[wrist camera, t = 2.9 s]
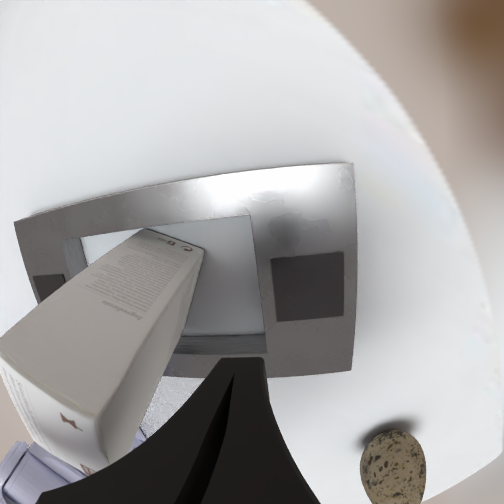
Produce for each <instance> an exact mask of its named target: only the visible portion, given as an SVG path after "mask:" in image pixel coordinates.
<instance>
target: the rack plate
mask: <svg viewBox="0 0 504 504" xmlns="http://www.w3.org/2000/svg"><path fill="white" fill-rule="evenodd" d="M241 215H250V217H251V225H252V232H253V240H254V248H255V256H256V264H257V272H258V280H259V288H260V296H261V304H262V312H263V320H264V328H265V334H259V335H236V336H180V339H179V341H178V343H177V345H176V347H175V349H174V351H173V353H172V356H171V358H170V360H169V362H168V364H167V366H166V368H165V371H164V373H163V375H162V376H171V377H189V378H206V377H207V376H208V374H209V373H210V372H211V370H212V369H213V368H214V366H215V365H216V364H217V362H218V361H219V360H220V359H221V358H235V357H261V358H263V359H264V361H265V369H266V377H267V378H273V377H291V376H304V375H316V374H326V373H335V372H343V371H350V370H351V367H352V357H353V346H354V334H355V319H356V298H357V216H356V195H355V180H354V167H353V163H348V162H338V163H321V164H307V165H295V166H284V167H274V168H264V169H256V170H247V171H239V172H232V173H224V174H217V175H210V176H204V177H197V178H191V179H185V180H179V181H174V182H168V183H163V184H158V185H152V186H147V187H142V188H137V189H133V190H128V191H123V192H119V193H114V194H110V195H106V196H102V197H97V198H93V199H89V200H85V201H81V202H78V203H74V204H70V205H66V206H63V207H59V208H56V209H52V210H49V211H45V212H42V213H38V214H35V215H32V216H29V217H26V218H23V219H21V220H18V221H15V222H14V226H15V231H16V235H17V239H18V243H19V247H20V251H21V254H22V258H23V261H24V265H25V268H26V271H27V274H28V277H29V280H30V283H31V286H32V289H33V292H34V295H35V297H36V300H37V303H38V305H39V304H40V303H41V302H42V301H44V300H45V299H46V298H47V297H49V296H50V295H51V294H53V293H54V292H55V291H56V290H58V289H59V288H60V287H61V286H63V285H64V284H65V283H67V282H68V281H69V280H71V279H72V278H73V277H75V276H76V275H77V274H79V273H80V272H81V271H83V270H84V269H85V268H87V264H86V260H85V256H84V253H83V249H82V245H81V241H80V237H86V236H92V235H99V234H105V233H111V232H118V231H124V230H131V229H138V228H145V227H152V226H159V225H167V224H174V223H182V222H190V221H198V220H206V219H215V218H223V217H232V216H241Z"/></svg>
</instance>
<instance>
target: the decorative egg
mask: <svg viewBox="0 0 504 504" xmlns="http://www.w3.org/2000/svg"><path fill="white" fill-rule="evenodd" d="M360 475H361V480H362V484H363V486H364V489H365V491H366V494H367V496H368V497H369V499H370V501H371V502H372V504H420V503H421V501H422V498H423V494H424V490H425V483H426V462H425V456H424V453H423V450H422V448H421V445H420V444H419V442H418V441H417V440H416V439H415V438H414V437H413V436H412V435H410V434H409V433H406V432H404V431H399V430H391V431H386V432H383V433H381V434H379V435H377V436H376V437H375V438H374V439H372V440H371V441H370V442H369V444H368V445H367V446H366V448H365V450H364V452H363V454H362V457H361V461H360Z"/></svg>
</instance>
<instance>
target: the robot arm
mask: <svg viewBox="0 0 504 504" xmlns="http://www.w3.org/2000/svg"><path fill="white" fill-rule="evenodd" d="M28 446H29V445H28V444H27V443H26V442H24V441H23V442H16V443H15V445H14V446H13V447H12V448H11V449H10V451H9V452H8V453H7V455H6V456H5V458H4V459H3V461H2V462H1V464H0V504H321V503H320V502H319V501H318V499H317V498H316V496H315V494H314V493H313V491H312V490H311V488H310V487H309V485H308V484H307V482H306V481H305V479H304V477H303V476H302V474H301V472H300V471H299V469H298V467H297V465H296V463H295V462H294V460H293V458H292V456H291V454H290V452H289V450H288V448H287V446H286V443H285V441H284V439H283V437H282V434H281V432H280V430H279V427H278V425H277V422H276V419H275V417H274V414H273V411H272V408H271V404H270V401H269V392H268V384H267V377H266V369H265V361H264V359H263V358H261V357H235V358H221V359H220V360H219V361H218V362H217V364H216V365H215V366H214V368H213V369H212V370H211V372H210V373H209V374H208V376H207V377H206V378H205V379H204V381H203V382H202V383H201V384H200V386H199V387H198V388H197V389H196V390H195V392H194V393H193V394H192V395H191V396H190V398H189V399H188V400H187V401H186V402H185V403H184V404H183V406H182V407H181V408H180V409H179V410H178V411H177V412H176V413H175V414H174V415H173V416H172V417H171V418H170V419H169V420H168V421H167V422H166V423H165V424H164V425H163V426H162V427H161V428H159V429H158V430H157V431H156V432H155V433H154V434H153V435H152V436H150V437H149V438H148V439H146V438H145V436H144V435H143V433H142V432H141V430H140V429H138V432H137V434H136V436H135V439H134V441H133V443H132V446H131V448H130V450H129V453H128V454H126V455H125V456H123V457H122V458H120V459H119V460H117V461H116V462H114V463H112V464H111V465H109V466H107V467H105V468H103V469H101V470H99V471H97V472H95V473H93V474H91V475H88V474H86V473H84V472H82V471H80V470H79V469H77V468H75V467H73V466H72V465H70V464H68V463H66V462H64V461H63V460H61V459H59V458H58V457H56V456H54V455H53V454H51V453H50V452H48V451H47V450H45V449H44V448H42V447H41V446H40V445H38V444H37V443H36V442H35V441H34V442H33V444H32V445H31V446H30V447H29V449H28V448H27V447H28Z"/></svg>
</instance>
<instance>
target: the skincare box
mask: <svg viewBox="0 0 504 504" xmlns="http://www.w3.org/2000/svg"><path fill="white" fill-rule="evenodd" d="M203 256H204V250H203V249H201V248H198V247H195V246H193V245H190V244H187V243H185V242H182V241H179V240H176V239H173V238H170V237H168V236H165V235H162V234H159V233H156V232H154V231H151V230H148V229H142V230H140V231H139V232H137V233H136V234H134V235H132V236H131V237H130V238H128V239H127V240H125V241H124V242H122V243H121V244H119V245H118V246H116V247H115V248H113V249H112V250H111V251H109V252H108V253H106V254H105V255H103V256H102V257H101V258H99V259H98V260H96V261H95V262H94V263H92V264H91V265H89V266H88V267H87V268H85V269H84V270H83V271H81V272H80V273H79V274H77V275H76V276H75V277H73V278H72V279H71V280H69V281H68V282H67V283H65V284H64V285H63V286H61V287H60V288H59V289H58V290H56V291H55V292H54V293H53V294H51V295H50V296H49V297H47V298H46V299H45V300H44V301H42V302H41V303H40V304H39V305H38V306H36V307H35V308H34V309H33V310H32V311H31V312H29V313H28V314H27V315H26V316H25V317H24V318H22V319H21V320H20V321H19V322H18V323H16V324H15V325H14V326H13V327H12V328H11V329H9V330H8V331H7V332H6V333H5V334H4V335H3V336H2V337H1V338H0V373H1V376H2V378H3V381H4V383H5V386H6V388H7V390H8V392H9V395H10V397H11V399H12V401H13V403H14V405H15V407H16V409H17V411H18V413H19V415H20V417H21V419H22V421H23V423H24V425H25V426H26V428H27V430H28V431H29V433H30V435H31V437H32V439H33V440H34V441H35V442H36V443H37V444H38V445H40V446H41V447H42V448H44V449H45V450H47V451H48V452H50V453H51V454H53V455H54V456H56V457H58V458H59V459H61V460H63V461H64V462H66V463H68V464H70V465H72V466H73V467H75V468H77V469H79V470H80V471H82V472H84V473H86V474H88V475H91V474H93V473H95V472H97V471H99V470H101V469H103V468H105V467H107V466H109V465H111V464H112V463H114V462H116V461H117V460H119V459H120V458H122V457H123V456H125V455H126V454H128V453H129V450H130V448H131V446H132V443H133V441H134V439H135V436H136V434H137V432H138V429H139V427H140V425H141V422H142V420H143V418H144V416H145V413H146V411H147V409H148V406H149V404H150V402H151V400H152V397H153V395H154V393H155V391H156V388H157V386H158V384H159V382H160V380H161V377H162V375H163V373H164V371H165V368H166V366H167V364H168V362H169V360H170V358H171V356H172V353H173V351H174V349H175V347H176V345H177V343H178V341H179V339H180V336H181V334H182V332H183V330H184V328H185V324H186V320H187V316H188V312H189V308H190V305H191V301H192V297H193V293H194V289H195V285H196V282H197V278H198V274H199V271H200V267H201V264H202V260H203Z"/></svg>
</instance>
